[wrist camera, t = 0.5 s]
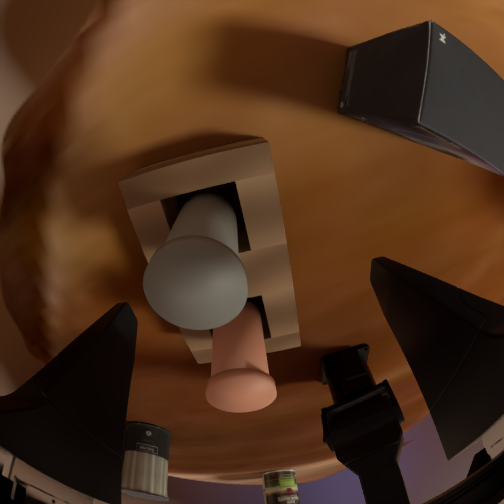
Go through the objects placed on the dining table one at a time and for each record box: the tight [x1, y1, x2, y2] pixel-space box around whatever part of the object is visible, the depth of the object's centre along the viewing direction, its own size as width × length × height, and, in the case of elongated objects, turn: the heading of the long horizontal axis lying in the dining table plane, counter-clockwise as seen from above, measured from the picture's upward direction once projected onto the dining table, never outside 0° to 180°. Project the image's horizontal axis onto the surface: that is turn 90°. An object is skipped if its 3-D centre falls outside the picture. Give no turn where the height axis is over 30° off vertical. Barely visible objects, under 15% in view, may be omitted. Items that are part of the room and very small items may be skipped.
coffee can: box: [262, 469, 300, 504], centre depth 54 cm, size 10×10×14 cm
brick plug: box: [206, 301, 277, 412], centre depth 19 cm, size 5×5×8 cm
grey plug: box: [143, 193, 248, 330], centre depth 15 cm, size 5×5×8 cm
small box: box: [338, 20, 504, 177], centre depth 13 cm, size 11×6×10 cm, turn 81°
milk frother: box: [121, 423, 172, 501], centre depth 36 cm, size 14×16×15 cm
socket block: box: [118, 137, 301, 364], centre depth 22 cm, size 18×10×4 cm, turn 11°
